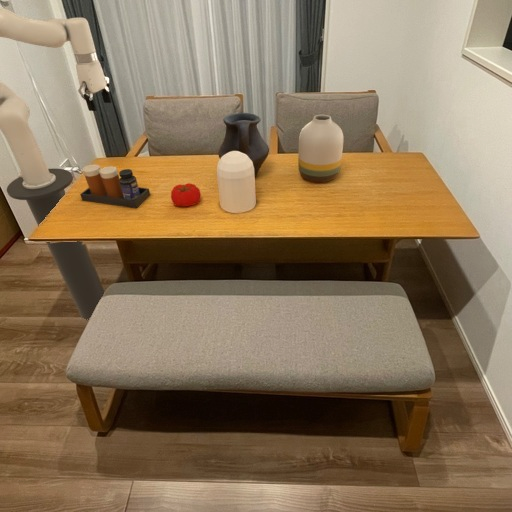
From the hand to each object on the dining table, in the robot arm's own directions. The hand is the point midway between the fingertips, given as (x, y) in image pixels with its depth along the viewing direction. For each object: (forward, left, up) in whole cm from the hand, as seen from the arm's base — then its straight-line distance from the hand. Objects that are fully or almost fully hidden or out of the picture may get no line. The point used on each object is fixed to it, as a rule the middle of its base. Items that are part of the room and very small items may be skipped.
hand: (100, 106), depth 150 cm
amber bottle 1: (+4, -19, -28) cm, 34 cm away
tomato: (+40, -16, -28) cm, 52 cm away
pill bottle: (+19, -19, -28) cm, 38 cm away
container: (+59, -12, -28) cm, 67 cm away
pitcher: (+54, +11, -28) cm, 62 cm away
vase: (+84, +16, -28) cm, 90 cm away
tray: (+11, -19, -28) cm, 36 cm away
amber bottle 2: (+11, -19, -28) cm, 35 cm away
